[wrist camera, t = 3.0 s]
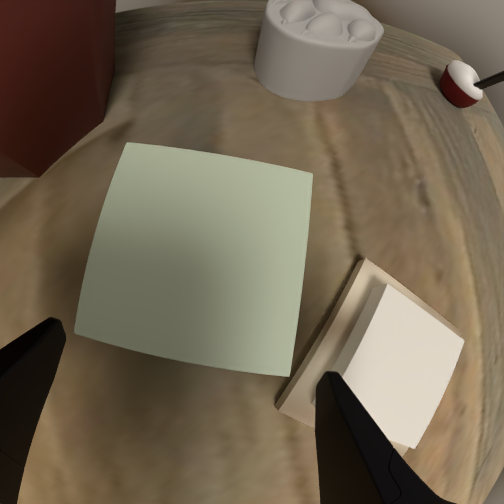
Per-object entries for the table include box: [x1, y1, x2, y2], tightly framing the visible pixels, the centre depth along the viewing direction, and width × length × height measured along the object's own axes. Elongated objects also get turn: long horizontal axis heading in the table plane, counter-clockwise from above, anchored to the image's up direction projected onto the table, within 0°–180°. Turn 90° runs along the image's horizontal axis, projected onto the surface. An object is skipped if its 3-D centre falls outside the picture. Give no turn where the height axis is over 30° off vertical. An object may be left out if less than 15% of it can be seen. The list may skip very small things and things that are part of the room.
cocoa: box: [440, 60, 504, 108], centre depth 24 cm, size 10×6×12 cm, turn 157°
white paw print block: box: [254, 0, 384, 101], centre depth 22 cm, size 10×13×9 cm
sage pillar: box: [74, 142, 313, 377], centre depth 13 cm, size 7×7×13 cm
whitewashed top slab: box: [311, 284, 464, 449], centre depth 17 cm, size 9×9×2 cm
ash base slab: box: [274, 258, 462, 457], centre depth 19 cm, size 12×12×2 cm
